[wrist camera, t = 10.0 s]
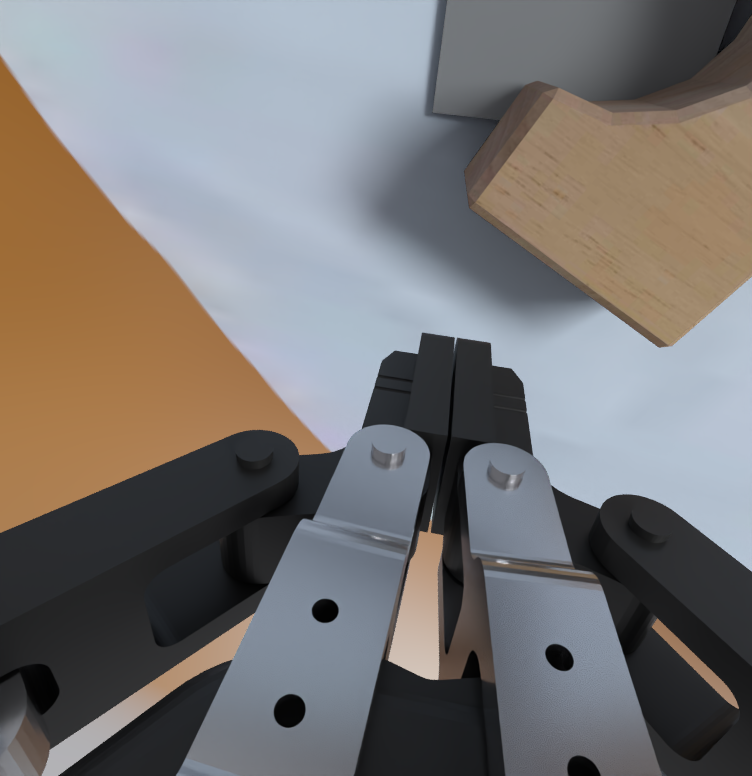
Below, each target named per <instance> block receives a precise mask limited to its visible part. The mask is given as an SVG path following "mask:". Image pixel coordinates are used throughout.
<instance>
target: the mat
mask: <svg viewBox="0 0 752 776" xmlns="http://www.w3.org/2000/svg"><path fill="white" fill-rule="evenodd" d="M736 1H737V0H447V5H446V13H445V20H444V28H443V36H442V43H441V51H440V59H439V66H438V74H437V82H436V89H435V97H434V104H433V112H432V113H440V114H449V115H458V116H466V117H475V118H484V119H492V120H501V118H502V117H503V116H504V114H505V113H506V111H507V110H508V109H509V107H510V106H511V104H512V103H513V102H514V100H515V99H516V97H517V96H518V95H519V93H520V92H521V90H522V89H523V88H524V86H525V85H526V84H529V83H532V82H535V81H540V82H543V83H546V84H549V85H552V86H555V87H558V88H561V89H563V90H565V91H567V92H569V93H571V94H573V95H575V96H578V97H580V98H582V99H584V100H586V101H610V100H635V99H637V98H640V97H643V96H646V95H648V94H651V93H654V92H656V91H659V90H662V89H665V88H667V87H670V86H673V85H675V84H678V83H681V82H684V81H686V80H689V79H691V78H692V77H693V76H694V75H696V74H697V73H698V72H699V71H700V70H701V69H702V68H703V67H705V66H706V65H707V64H708V63H709V62H710V61H711V60H712V59H714V58H715V57H716V55H717V52H718V49H719V46H720V44H721V41H722V38H723V36H724V33H725V30H726V28H727V25H728V22H729V20H730V17H731V14H732V12H733V9H734V6H735V3H736Z"/></svg>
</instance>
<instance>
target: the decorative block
mask: <svg viewBox="0 0 752 776" xmlns="http://www.w3.org/2000/svg"><path fill="white" fill-rule="evenodd" d="M464 173H465V182H466V189H467V196H468V203H469V208H470V209H471V210H473V211H474V212H475V213H477V214H478V215H479V216H481V217H482V218H484V219H485V220H486V221H488V222H489V223H490V224H492V225H493V226H494V227H496V228H497V229H499V230H500V231H501V232H503V233H504V234H505V235H507V236H508V237H509V238H511V239H512V240H514V241H515V242H516V243H518V244H519V245H520V246H522V247H523V248H524V249H526V250H527V251H528V252H530V253H531V254H533V255H534V256H535V257H537V258H538V259H539V260H541V261H542V262H543V263H545V264H546V265H548V266H549V267H550V268H552V269H553V270H554V271H556V272H557V273H558V274H560V275H561V276H563V277H564V278H565V279H567V280H568V281H569V282H571V283H572V284H573V285H575V286H576V287H577V288H579V289H580V290H582V291H583V292H584V293H586V294H587V295H588V296H590V297H591V298H592V299H594V300H595V301H596V302H598V303H599V304H601V305H602V306H603V307H605V308H606V309H607V310H609V311H610V312H611V313H613V314H614V315H615V316H617V317H618V318H620V319H621V320H622V321H624V322H625V323H626V324H628V325H629V326H630V327H632V328H633V329H634V330H636V331H637V332H639V333H640V334H641V335H643V336H644V337H645V338H647V339H648V340H649V341H651V342H652V343H653V344H655V345H656V346H657V347H659V348H660V347H668V346H672V345H674V344H675V343H676V342H677V341H678V340H679V339H680V338H682V337H683V336H684V335H685V334H686V333H687V332H689V331H690V330H691V329H692V328H693V327H694V326H695V325H697V324H698V323H699V322H700V321H701V320H702V319H704V318H705V317H706V316H707V315H708V314H709V313H710V312H712V311H713V310H714V309H715V308H716V307H717V306H718V305H720V304H721V303H722V302H723V301H724V300H725V299H727V298H728V297H729V296H730V295H731V294H732V293H733V292H735V291H736V290H737V289H738V288H739V287H740V286H741V285H743V284H744V283H745V282H746V281H747V280H748V279H750V278H751V277H752V15H751V16H750V18H749V19H748V21H747V22H746V24H745V25H744V27H743V28H742V30H741V31H740V32H739V34H738V35H737V37H736V38H735V40H734V41H733V42H731V43H730V44H729V45H728V46H727V47H726V48H725V49H724V50H722V51H721V52H720V53H719V54H718V55H717V56H716V57H715V58H714V59H712V60H711V61H710V62H709V63H708V64H707V65H706V66H705V67H703V68H702V69H701V70H700V71H699V72H698V73H697V74H696V75H694V76H693V77H692V78H691V79H689V80H686V81H684V82H681V83H678V84H675V85H673V86H670V87H667V88H665V89H662V90H659V91H656V92H654V93H651V94H648V95H646V96H643V97H640V98H637V99H635V100H610V101H586V100H584V99H582V98H580V97H578V96H575V95H573V94H571V93H569V92H567V91H565V90H563V89H561V88H558V87H555V86H552V85H549V84H546V83H543V82H540V81H535V82H532V83H529V84H526V85H525V86H524V88H523V89H522V90H521V92H520V93H519V95H518V96H517V97H516V99H515V100H514V102H513V103H512V104H511V106H510V107H509V109H508V110H507V111H506V113H505V114H504V116H503V117H502V118H501V120H500V121H499V123H498V124H497V125H496V127H495V128H494V130H493V131H492V132H491V134H490V135H489V137H488V138H487V140H486V141H485V142H484V144H483V145H482V147H481V148H480V149H479V151H478V152H477V154H476V155H475V156H474V158H473V159H472V161H471V162H470V163H469V165H468V166H467V168H466V169H465V170H464Z"/></svg>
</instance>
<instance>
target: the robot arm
mask: <svg viewBox="0 0 752 776" xmlns="http://www.w3.org/2000/svg"><path fill="white" fill-rule="evenodd" d="M454 341H455V338H454V337H448V336H441V335H435V334H428V333H422V336H421V341H420V347H419V352H418V354H413V353H407V352H400V351H394V352H393V353H391V354H390V355H389V356H388V357H386V358H385V359H384V360H383V361H382V363H381V366H380V369H379V373H378V377H377V380H376V383H375V387H374V390H373V393H372V396H371V400H370V403H369V406H368V410H367V413H366V416H365V420H364V423H363V426H362V429H361V430H359V431H357V432H356V433H355V434H354V435H353V436H352V437H351V438H350V440H349V441H348V443H347V446H346V447H345V448H343V449H340V450H338V451H335V452H330V453H324V454H313V455H299V453H298V449H297V447H296V446H295V444H294V443H293V442H292V441H291V440H289V439H288V438H287V437H285V436H283V435H281V434H278V433H276V432H272V431H265V430H250V431H244V432H240V433H237V434H234V435H231V436H229V437H226V438H224V439H222V440H219V441H217V442H215V443H212V444H210V445H207V446H205V447H203V448H200V449H198V450H196V451H193V452H191V453H189V454H186V455H184V456H181V457H180V458H177V459H174V460H172V461H170V462H167V463H165V464H163V465H160V466H158V467H155V468H153V469H151V470H148V471H146V472H144V473H142V474H139V475H137V476H134V477H132V478H129V479H127V480H125V481H122V482H120V483H118V484H115V485H113V486H111V487H108V488H106V489H103V490H101V491H99V492H96V493H94V494H92V495H89V496H87V497H85V498H82V499H80V500H78V501H75V502H73V503H71V504H68V505H66V506H63V507H61V508H58V509H56V510H54V511H51V512H49V513H47V514H44V515H42V516H40V517H38V518H35V519H33V520H30V521H28V522H25V523H23V524H21V525H18V526H16V527H14V528H11V529H9V530H7V531H4V532H2V533H0V776H41V775H42V773H43V771H44V769H45V766H46V763H47V760H48V757H49V750H50V749H51V748H53V747H55V746H56V745H58V744H59V743H60V742H62V741H64V740H65V739H66V738H68V737H70V736H71V735H72V734H74V733H75V732H77V731H79V730H80V729H81V728H83V727H84V726H86V725H87V724H89V723H90V722H92V721H93V720H95V719H96V718H98V717H99V716H101V715H102V714H104V713H105V712H107V711H108V710H110V709H111V708H113V707H114V706H116V705H117V704H119V703H120V702H122V701H123V700H125V699H126V698H128V697H129V696H131V695H132V694H134V693H135V692H137V691H138V690H140V689H141V688H143V687H144V686H146V685H147V684H149V683H150V682H152V681H153V680H155V679H156V678H158V677H159V676H161V675H162V674H164V673H165V672H167V671H168V670H170V669H171V668H173V667H174V666H176V665H177V664H179V663H180V662H182V661H183V660H185V659H186V658H188V657H189V656H191V655H192V654H194V653H195V652H197V651H198V650H200V649H201V648H203V647H204V646H206V645H207V644H209V643H210V642H212V641H213V640H214V639H216V638H218V637H219V636H221V635H222V634H223V633H225V632H227V631H228V630H230V629H231V628H233V627H234V626H236V625H237V624H239V623H240V622H242V621H243V620H245V619H246V618H248V617H249V616H250V615H252V614H254V613H255V614H254V616H253V618H252V621H251V623H250V625H249V627H248V629H247V631H246V633H245V635H244V638H243V639H242V641H241V644H240V646H239V648H238V650H237V652H236V654H235V656H234V658H233V660H230V661H227V662H224V663H222V664H219V665H217V666H215V667H213V668H210V669H208V670H206V671H204V672H202V673H200V674H199V675H197V676H195V677H193V678H192V679H190V680H188V681H186V682H185V683H184V684H182V685H181V686H179V687H178V688H176V689H175V690H173V691H172V692H171V693H169V694H168V695H167V696H165V697H164V698H163V699H161V700H160V701H159V702H157V703H156V704H155V705H153V706H152V707H150V708H149V709H148V710H146V711H145V712H144V713H142V714H141V715H140V716H138V717H137V718H136V719H134V720H133V721H132V722H130V723H129V724H128V725H127V726H125V727H124V728H122V729H121V730H119V731H118V732H117V733H116V734H114V735H113V736H111V737H110V738H109V739H107V740H106V741H105V742H103V743H102V744H101V745H99V746H98V747H97V748H95V749H94V750H92V751H91V752H90V753H88V754H87V755H86V756H84V757H83V758H82V759H80V760H79V761H78V762H76V763H75V764H74V765H72V766H71V767H69V768H68V769H67V770H65V771H64V772H63V773H61V774H60V775H59V776H752V572H751V571H750V570H749V569H747V568H746V567H745V566H744V565H742V564H741V563H740V562H738V561H737V560H736V559H735V558H733V557H732V556H731V555H729V554H728V553H727V552H726V551H724V550H723V549H722V548H720V547H719V546H718V545H717V544H715V543H714V542H713V541H711V540H710V539H709V538H708V537H706V536H705V535H704V534H702V533H701V532H700V531H699V530H697V529H696V528H695V527H693V526H692V525H691V524H690V523H688V522H687V521H686V520H685V519H683V518H682V517H681V516H679V515H678V514H677V513H675V512H674V511H673V510H671V509H670V508H668V507H666V506H664V505H663V504H661V503H658V502H656V501H654V500H651V499H649V498H646V497H642V496H637V495H624V494H623V495H616V496H613V497H611V498H609V499H607V500H606V501H605V502H604V503H603V504H602V506H601V508H600V509H599V508H596V507H594V506H592V505H589V504H587V503H584V502H582V501H579V500H577V499H574V498H572V497H570V496H568V495H566V494H564V493H562V492H560V491H559V490H557V489H556V488H554V487H553V486H552V485H551V484H550V480H549V476H548V474H547V471H546V469H545V468H544V466H543V465H542V464H541V463H540V462H539V461H538V460H537V459H536V458H535V457H534V456H533V452H532V445H531V438H530V431H529V423H528V416H527V413H526V411H527V409H526V402H525V394H524V387H523V383H522V381H521V380H520V379H519V378H518V376H517V375H516V374H515V373H514V371H513V370H512V369H510V368H504V367H497V366H492V358H491V343H488V342H481V341H475V340H468V339H462V338H457V340H456V344H455V349H454ZM433 503H434V505H433ZM432 508H433V516H432V527H431V533H435V534H441V535H444V537H443V550H442V554H441V558H440V563H439V566H438V615H439V616H438V617H439V679H438V680H430V679H425V678H423V677H420V676H418V675H416V674H414V673H412V672H410V671H408V670H406V669H404V668H402V667H400V666H398V665H396V664H393V663H392V662H389V661H388V658H389V654H390V649H391V645H392V640H393V636H394V631H395V627H396V623H397V618H398V614H399V609H400V605H401V600H402V596H403V591H404V586H405V582H406V578H407V574H408V569H409V564H410V560H411V558H412V557H413V555H414V553H415V551H416V547H417V542H418V537H419V532H420V531H423V532H427V531H428V527H429V522H430V517H431V513H432ZM657 618H658V619H659V620H660V621H661V622H662V623H663V624H664V625H665V626H666V627H667V628H668V629H669V630H670V631H671V632H673V633H674V634H675V635H676V636H677V637H678V638H679V639H680V640H681V641H682V642H683V643H684V644H685V645H686V646H687V647H688V648H689V649H690V650H691V651H692V652H693V653H694V654H695V655H696V656H697V657H698V658H699V659H700V660H701V661H703V662H704V663H705V664H706V665H707V666H708V667H709V668H710V669H711V670H712V671H713V672H714V673H715V674H716V675H717V676H718V677H719V678H720V679H721V680H722V681H724V683H725V684H726V685H727V686H728V687H729V689H730V690H731V692H732V693H733V695H734V697H735V699H736V701H737V703H738V706H739V709H737V708H735V707H734V706H732V705H731V704H729V703H728V702H727V701H726V700H725V699H724V698H722V697H721V695H720V694H718V693H717V692H716V691H715V690H714V689H713V688H712V687H711V686H710V685H709V684H708V683H707V682H706V681H705V680H704V679H703V678H702V677H701V676H700V675H699V674H698V673H697V672H696V671H695V670H694V669H693V668H692V667H691V666H690V665H689V664H688V663H687V662H686V661H685V660H684V659H683V658H682V657H681V656H680V655H679V654H678V653H677V652H676V651H675V650H674V649H673V648H672V647H671V646H670V645H669V644H668V643H667V642H666V641H665V640H664V639H663V638H662V637H661V636H660V635H659V634H658V633H657V632H656V631H655V630H654V629H653V628H652V625H653V624H654V622H655V621H656V619H657Z"/></svg>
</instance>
